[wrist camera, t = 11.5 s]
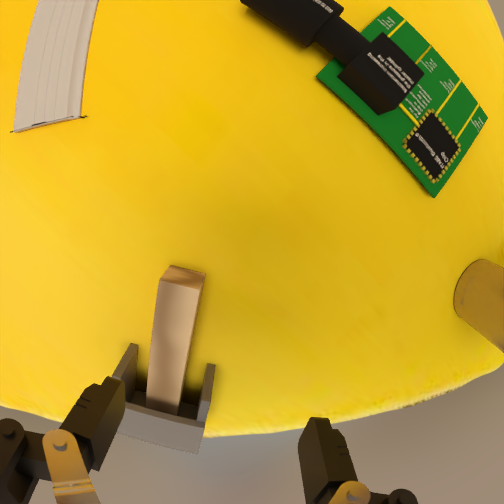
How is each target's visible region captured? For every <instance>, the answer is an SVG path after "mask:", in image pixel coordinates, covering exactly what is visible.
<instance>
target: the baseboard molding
mask: <svg viewBox="0 0 504 504" xmlns="http://www.w3.org/2000/svg"><path fill="white" fill-rule="evenodd" d="M98 2H99V0H39V2H38V5H37V8H36V11H35V14H34V18H33V21H32V25H31V28H30V32H29V36H28V40H27V44H26V48H25V53H24V58H23V63H22V68H21V74H20V80H19V86H18V93H17V101H16V111H15V122H14V132H15V133H19V132H23V131H26V130H30V129H34V128H38V127H42V126H46V125H50V124H55V123H59V122H64V121H69V120H74V119H79V118H84V117H81V109H82V97H83V87H84V78H85V70H86V63H87V56H88V50H89V44H90V39H91V33H92V28H93V23H94V19H95V14H96V10H97V6H98ZM86 117H87V116H86ZM12 132H13V131H12Z"/></svg>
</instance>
